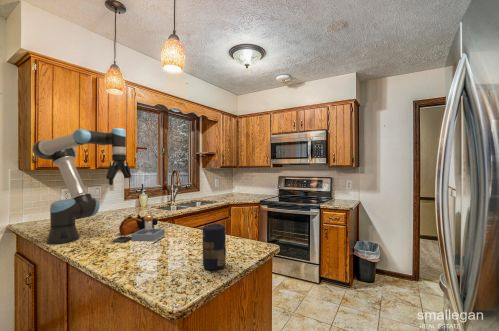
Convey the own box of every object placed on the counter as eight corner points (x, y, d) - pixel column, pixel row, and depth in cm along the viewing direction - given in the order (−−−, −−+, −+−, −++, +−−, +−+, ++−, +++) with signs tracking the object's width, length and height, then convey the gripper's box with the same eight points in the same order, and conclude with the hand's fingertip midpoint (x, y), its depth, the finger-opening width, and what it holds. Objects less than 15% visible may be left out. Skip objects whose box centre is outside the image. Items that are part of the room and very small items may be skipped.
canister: (204, 263, 107) (203, 221, 107) (226, 261, 108) (225, 220, 108) (201, 272, 98) (200, 226, 98) (225, 271, 98) (225, 225, 98)
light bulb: (143, 240, 139) (143, 216, 139) (143, 237, 144) (143, 215, 144) (153, 238, 141) (153, 216, 141) (153, 236, 146) (153, 214, 146)
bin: (131, 243, 137) (131, 234, 137) (144, 236, 149) (143, 228, 149) (153, 243, 135) (153, 234, 135) (164, 237, 148) (164, 228, 148)
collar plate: (108, 245, 134) (107, 240, 134) (119, 239, 144) (119, 235, 144) (125, 245, 133) (125, 241, 133) (135, 240, 143) (135, 235, 143)
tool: (153, 242, 161) (160, 219, 166) (120, 237, 144) (129, 211, 149) (146, 240, 166) (153, 218, 170) (113, 235, 149) (123, 210, 153)
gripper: (111, 153, 136) (111, 191, 136) (136, 155, 161) (137, 187, 161) (98, 153, 137) (99, 191, 137) (125, 155, 162) (126, 187, 162)
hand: (119, 189), depth 149 cm, fingers open, 13 cm apart
